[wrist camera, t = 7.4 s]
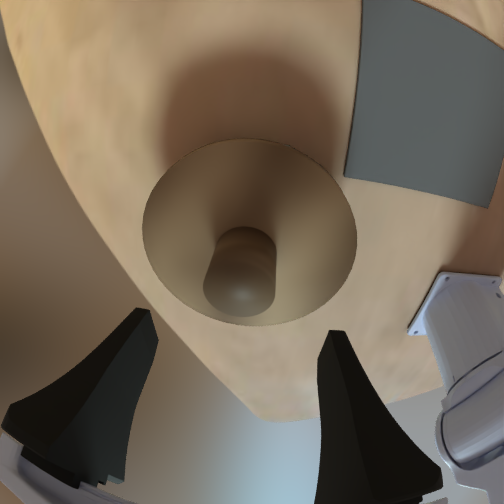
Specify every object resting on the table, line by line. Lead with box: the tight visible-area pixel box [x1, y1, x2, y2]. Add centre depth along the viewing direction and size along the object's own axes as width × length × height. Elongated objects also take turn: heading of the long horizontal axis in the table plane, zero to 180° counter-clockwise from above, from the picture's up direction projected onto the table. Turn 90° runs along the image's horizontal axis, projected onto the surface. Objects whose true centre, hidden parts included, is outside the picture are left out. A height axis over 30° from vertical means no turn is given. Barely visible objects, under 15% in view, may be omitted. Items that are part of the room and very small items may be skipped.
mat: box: [344, 0, 504, 208], centre depth 12 cm, size 13×13×1 cm
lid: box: [142, 138, 357, 326], centre depth 14 cm, size 12×12×4 cm
